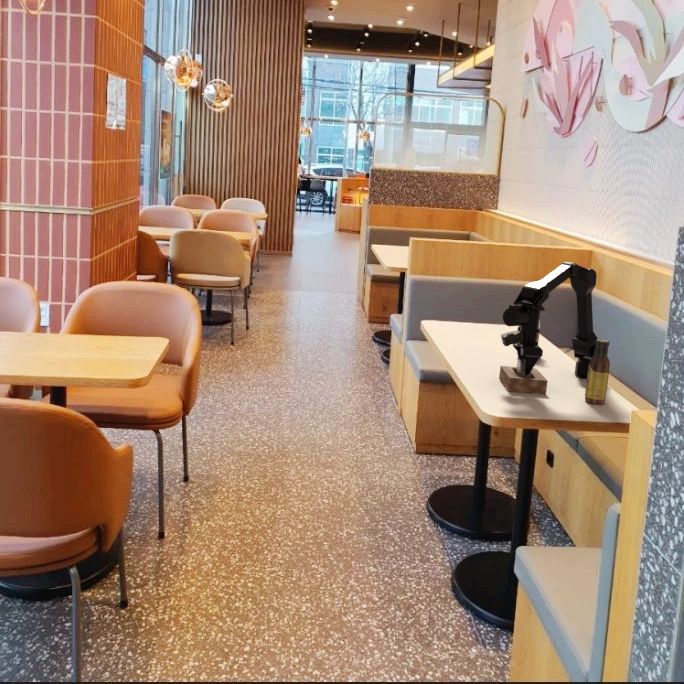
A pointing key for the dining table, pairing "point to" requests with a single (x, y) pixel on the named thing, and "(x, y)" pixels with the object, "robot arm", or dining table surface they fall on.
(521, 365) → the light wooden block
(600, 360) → the sauce bottle
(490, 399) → the dining table surface
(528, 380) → the well board
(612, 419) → the dining table surface
